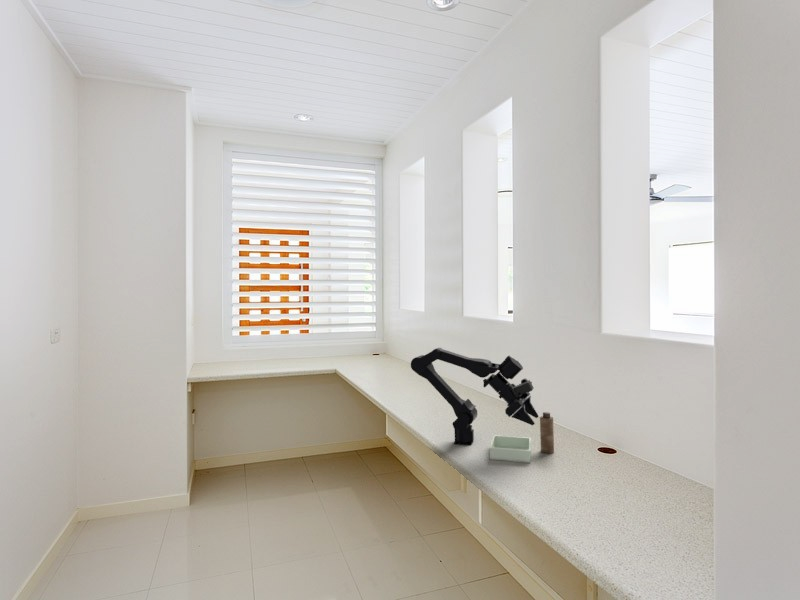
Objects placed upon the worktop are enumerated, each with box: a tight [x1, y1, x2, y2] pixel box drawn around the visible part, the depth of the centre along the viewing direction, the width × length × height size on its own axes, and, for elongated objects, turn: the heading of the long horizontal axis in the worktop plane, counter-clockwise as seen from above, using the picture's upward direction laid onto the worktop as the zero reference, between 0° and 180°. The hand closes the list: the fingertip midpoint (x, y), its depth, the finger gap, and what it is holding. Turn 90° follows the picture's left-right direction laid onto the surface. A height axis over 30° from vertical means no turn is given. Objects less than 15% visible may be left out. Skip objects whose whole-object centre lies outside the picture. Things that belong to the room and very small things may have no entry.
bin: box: [489, 434, 532, 464], centre depth 158 cm, size 13×13×4 cm
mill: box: [539, 411, 555, 455], centre depth 159 cm, size 4×4×14 cm
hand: (535, 420), depth 161 cm, fingers open, 9 cm apart
